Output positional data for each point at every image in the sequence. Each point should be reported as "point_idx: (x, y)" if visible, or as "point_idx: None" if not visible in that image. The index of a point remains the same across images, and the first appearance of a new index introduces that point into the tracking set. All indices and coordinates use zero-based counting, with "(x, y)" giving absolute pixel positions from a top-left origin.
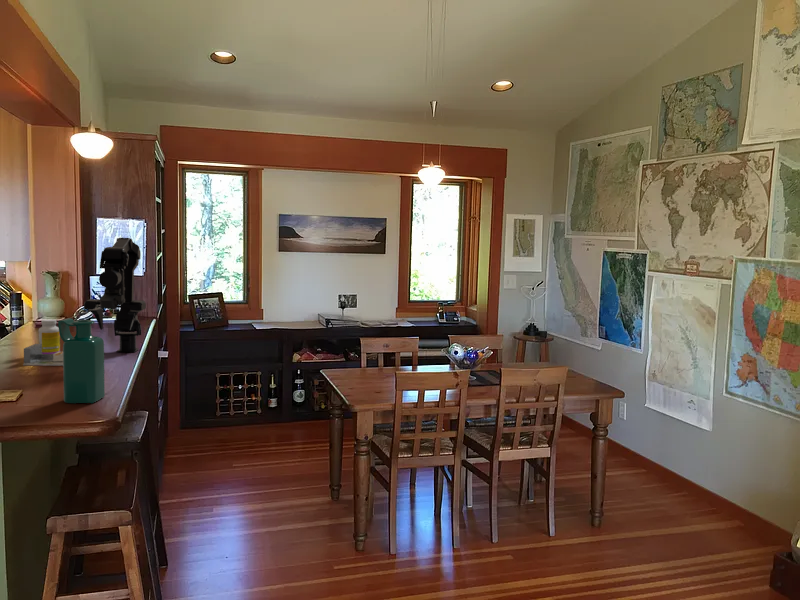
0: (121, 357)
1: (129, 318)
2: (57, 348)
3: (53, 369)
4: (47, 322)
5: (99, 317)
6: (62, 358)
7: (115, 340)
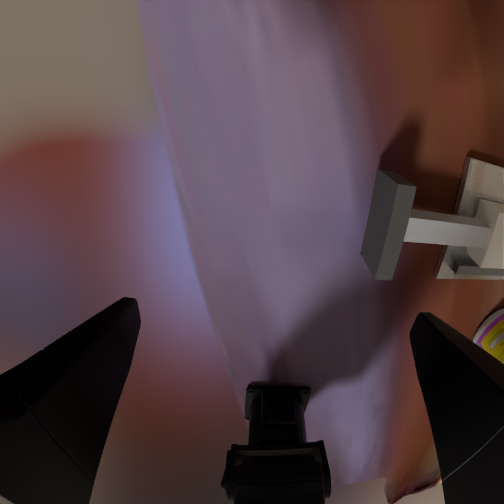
0: (275, 320)
1: (42, 381)
2: (491, 340)
3: (496, 92)
4: None
5: (501, 395)
6: (496, 205)
7: None
